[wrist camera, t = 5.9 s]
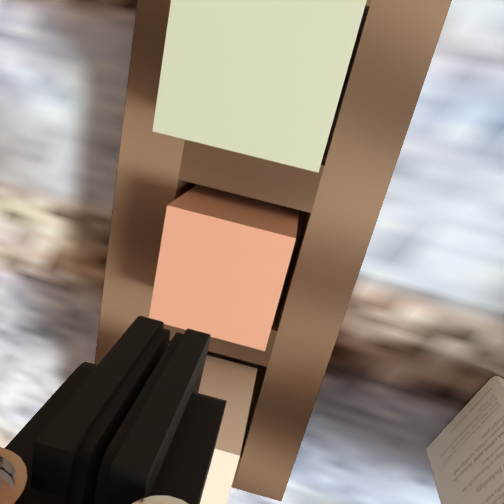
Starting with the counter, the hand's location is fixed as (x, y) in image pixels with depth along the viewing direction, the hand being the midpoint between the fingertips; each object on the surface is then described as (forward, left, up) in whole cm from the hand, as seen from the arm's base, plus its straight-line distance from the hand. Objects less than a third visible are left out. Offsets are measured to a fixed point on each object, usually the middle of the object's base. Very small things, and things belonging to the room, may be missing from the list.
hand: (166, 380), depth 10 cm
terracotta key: (0, 0, -10) cm, 10 cm away
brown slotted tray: (0, 0, -11) cm, 11 cm away
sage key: (+3, +7, -8) cm, 11 cm away
